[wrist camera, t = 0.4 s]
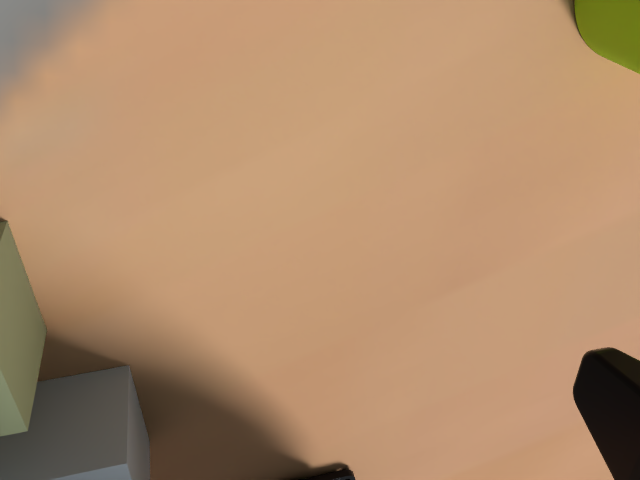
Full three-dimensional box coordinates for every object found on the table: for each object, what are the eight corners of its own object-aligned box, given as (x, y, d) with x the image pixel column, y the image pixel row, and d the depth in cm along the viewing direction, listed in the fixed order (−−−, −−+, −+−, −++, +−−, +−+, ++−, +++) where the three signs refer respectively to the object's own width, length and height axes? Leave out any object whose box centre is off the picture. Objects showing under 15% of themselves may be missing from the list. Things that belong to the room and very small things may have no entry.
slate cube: (149, 440, 28) (151, 540, 24) (36, 463, 27) (17, 572, 23) (129, 363, 25) (126, 463, 21) (1, 387, 24) (-26, 495, 20)
